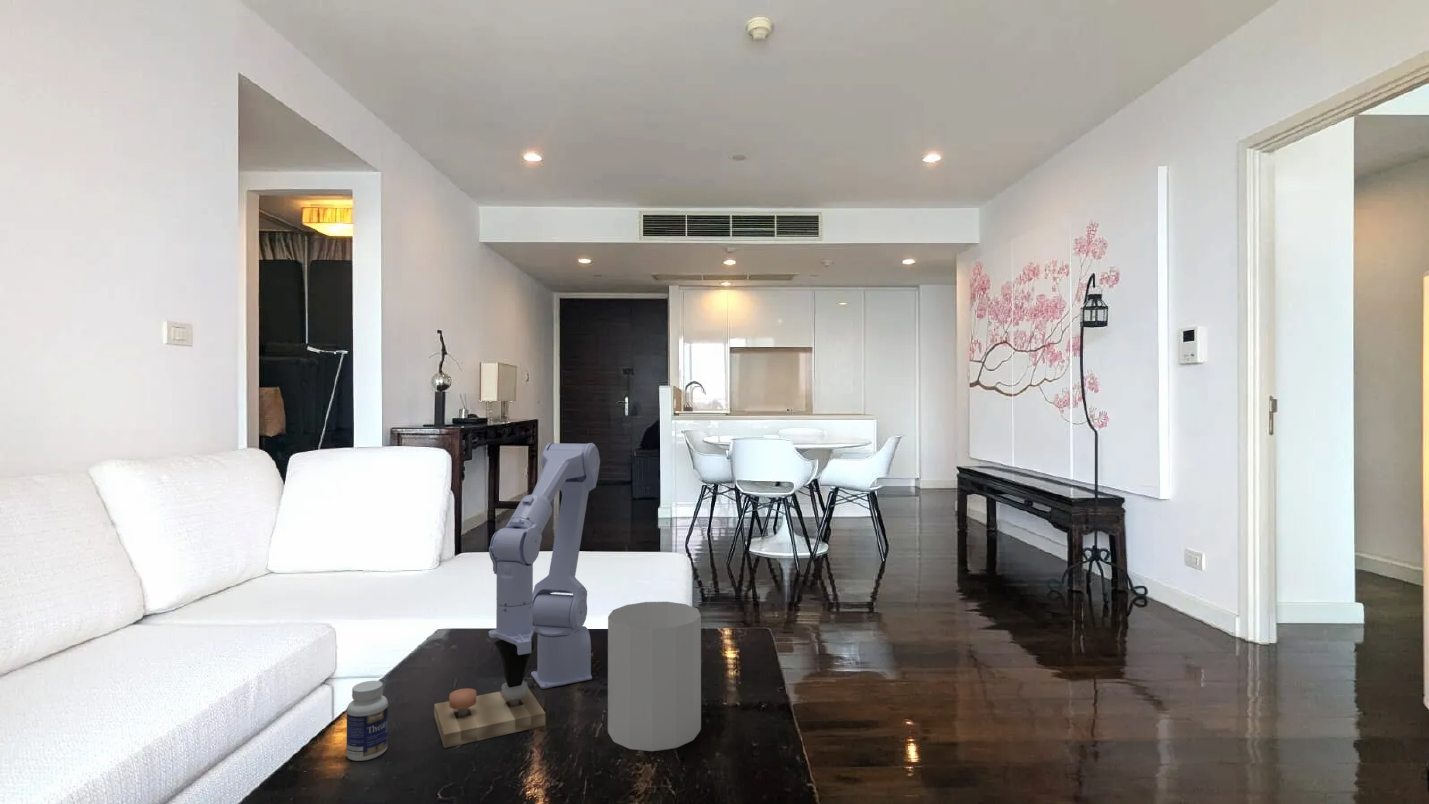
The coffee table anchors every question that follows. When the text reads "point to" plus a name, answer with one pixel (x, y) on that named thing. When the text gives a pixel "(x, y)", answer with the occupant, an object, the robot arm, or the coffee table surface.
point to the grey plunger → (514, 693)
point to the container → (654, 675)
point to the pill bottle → (367, 722)
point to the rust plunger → (462, 700)
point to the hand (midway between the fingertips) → (514, 685)
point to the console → (487, 718)
